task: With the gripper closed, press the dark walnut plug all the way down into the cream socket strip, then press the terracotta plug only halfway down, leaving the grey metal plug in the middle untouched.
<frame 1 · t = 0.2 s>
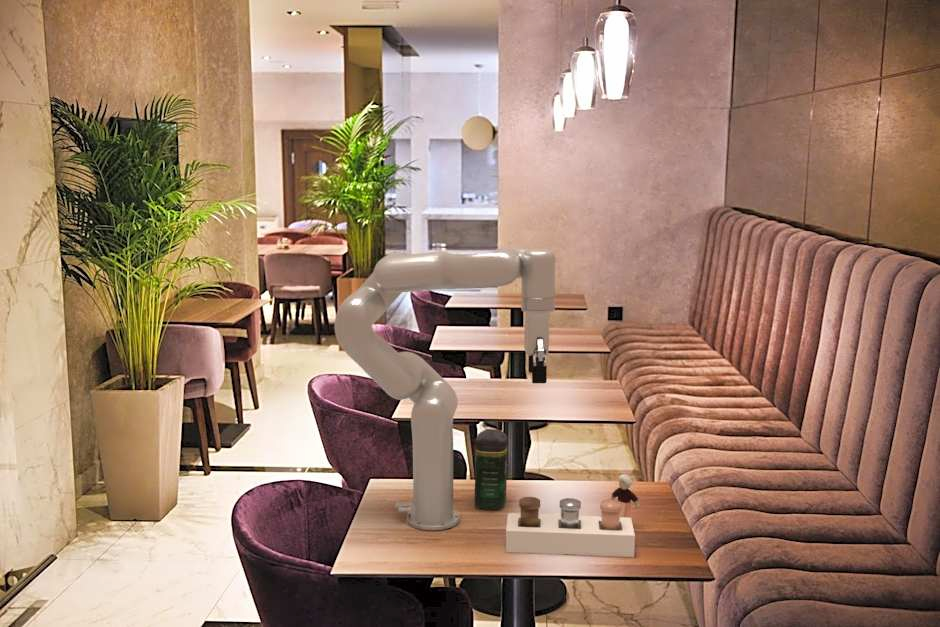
hand: (537, 377, 220), 36 cm above the table, tool pointing down, fingers open, 9 cm apart
walnut plug: (529, 513, 216), point 7 cm above the table, slide at 0.0 cm
grey plug: (569, 514, 215), point 7 cm above the table, slide at 0.0 cm
coffee jar: (490, 504, 240), on the table
grandmother figurine: (623, 526, 227), on the table
socket strip: (569, 545, 216), on the table
terracotta plug: (610, 516, 214), point 7 cm above the table, slide at 0.0 cm
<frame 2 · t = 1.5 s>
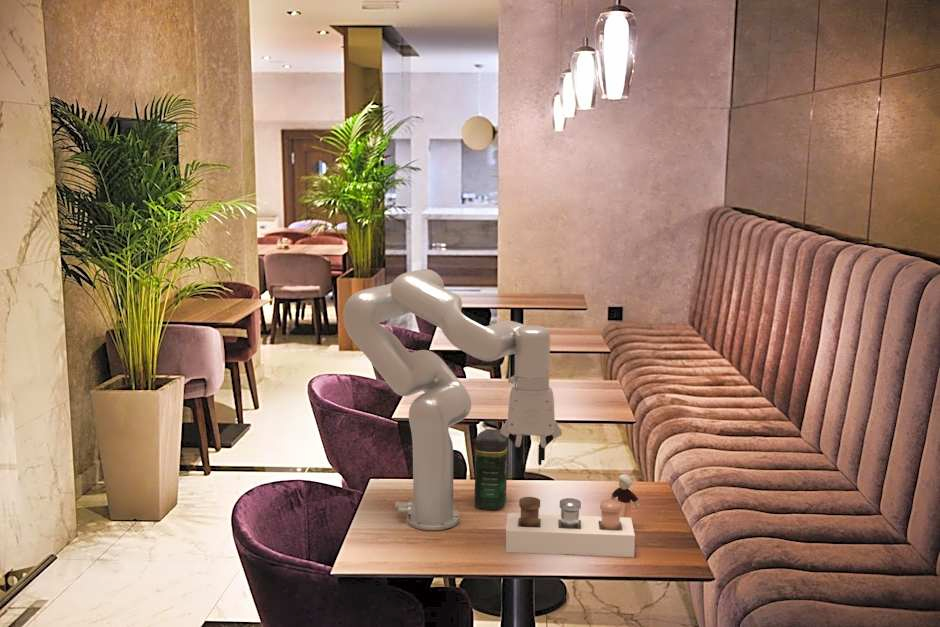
hand: (530, 462, 213), 19 cm above the table, tool pointing down, fingers open, 3 cm apart
nothing on the table moved.
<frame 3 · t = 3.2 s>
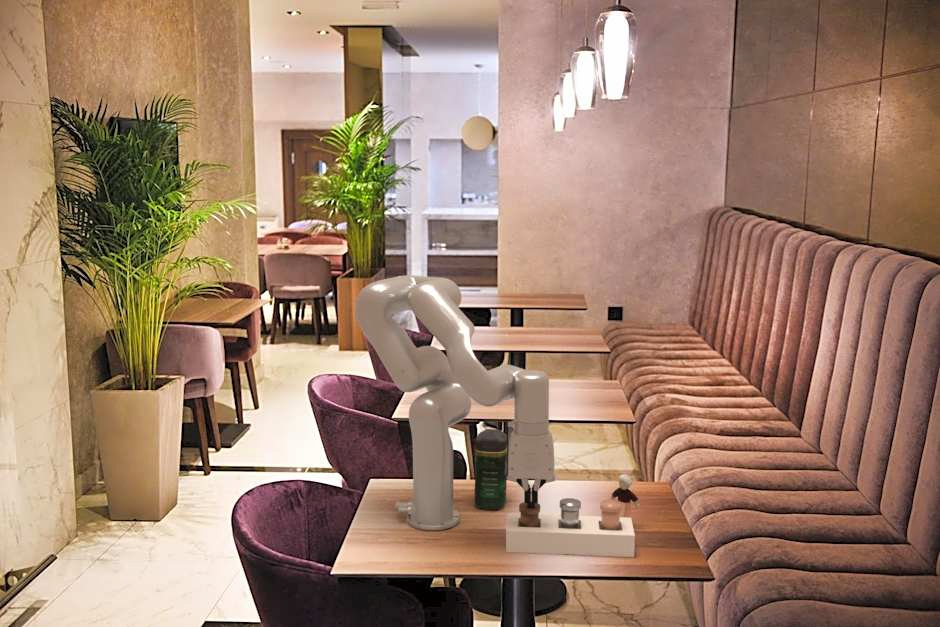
hand: (531, 505, 215), 9 cm above the table, tool pointing down, fingers closed
walnut plug: (529, 518, 216), point 6 cm above the table, slide at 1.2 cm, touching gripper
everything else where it was.
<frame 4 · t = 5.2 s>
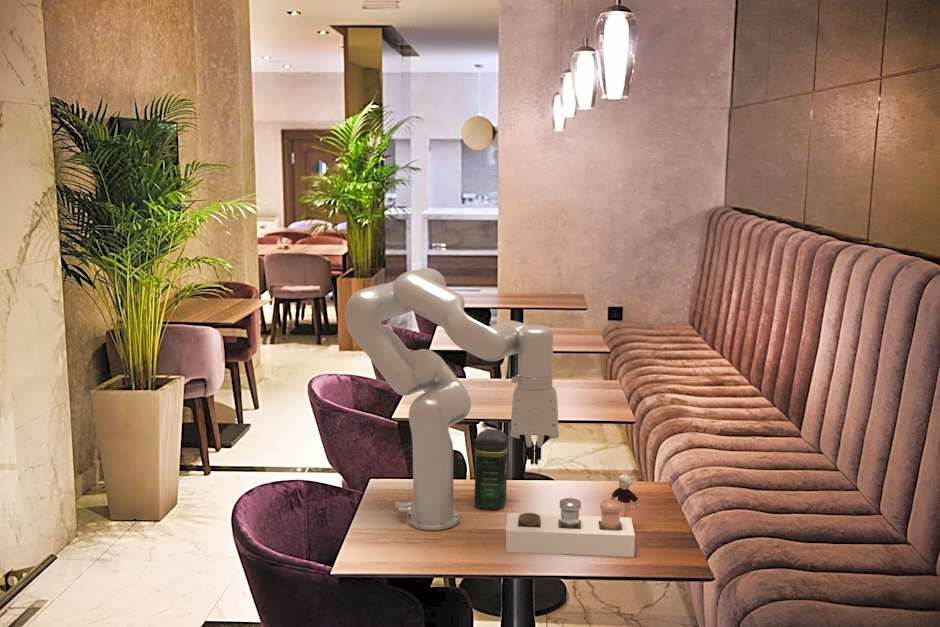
hand: (534, 462, 213), 19 cm above the table, tool pointing down, fingers closed
walnut plug: (529, 529, 216), point 3 cm above the table, slide at 3.8 cm
everything else where it was.
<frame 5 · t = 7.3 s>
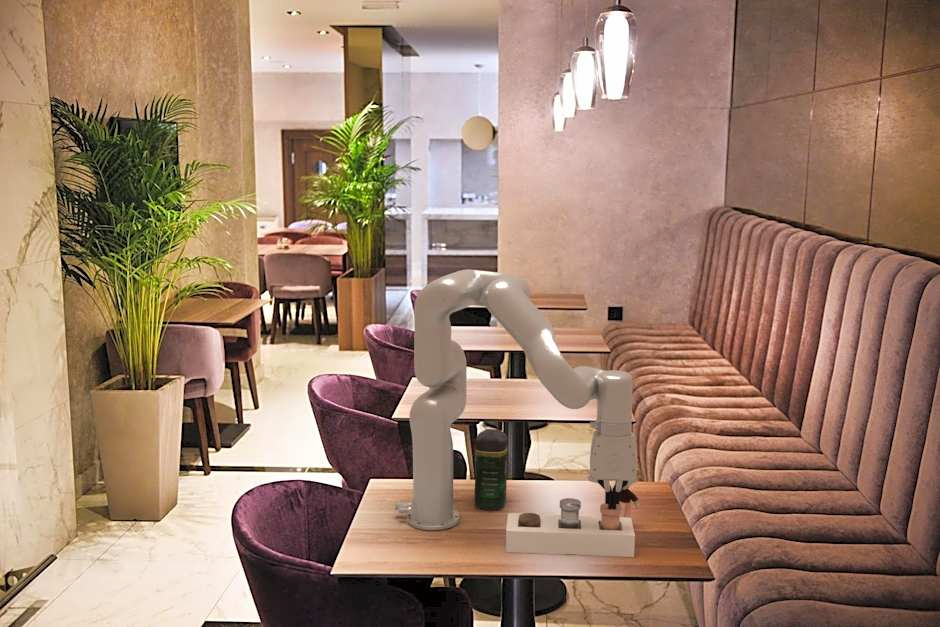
hand: (612, 506, 214), 9 cm above the table, tool pointing down, fingers closed
terracotta plug: (610, 519, 214), point 6 cm above the table, slide at 0.8 cm, touching gripper
everything else where it was.
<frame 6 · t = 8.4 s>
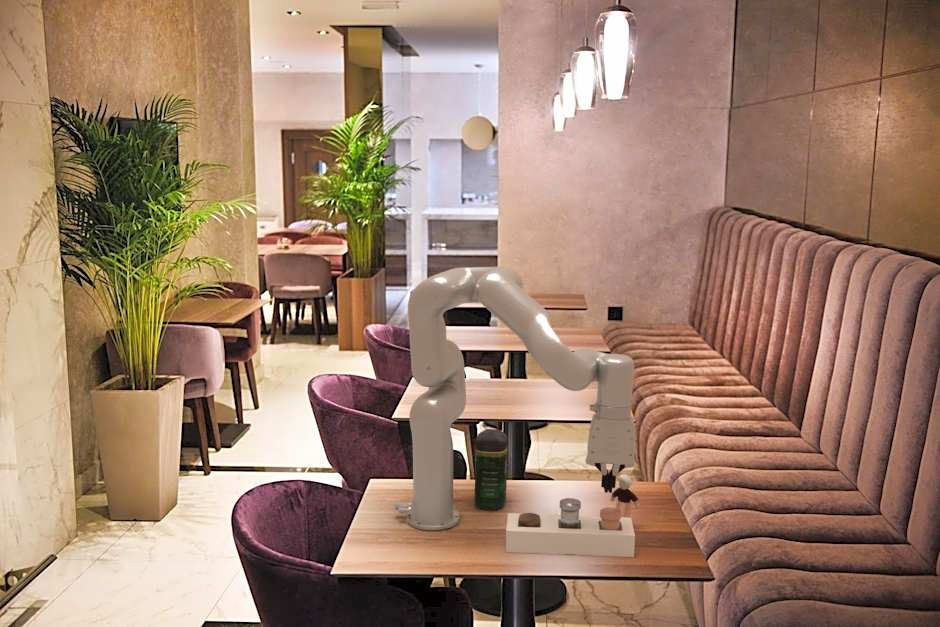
hand: (607, 490, 213), 13 cm above the table, tool pointing down, fingers closed
terracotta plug: (610, 524, 215), point 5 cm above the table, slide at 1.9 cm
everything else where it was.
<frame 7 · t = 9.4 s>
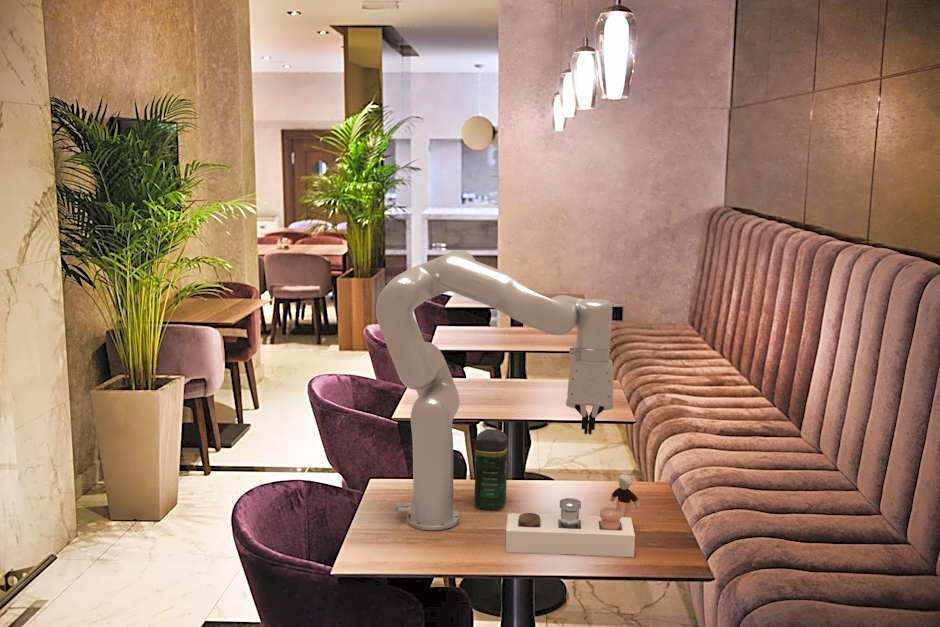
hand: (587, 432, 219), 24 cm above the table, tool pointing down, fingers closed
nothing on the table moved.
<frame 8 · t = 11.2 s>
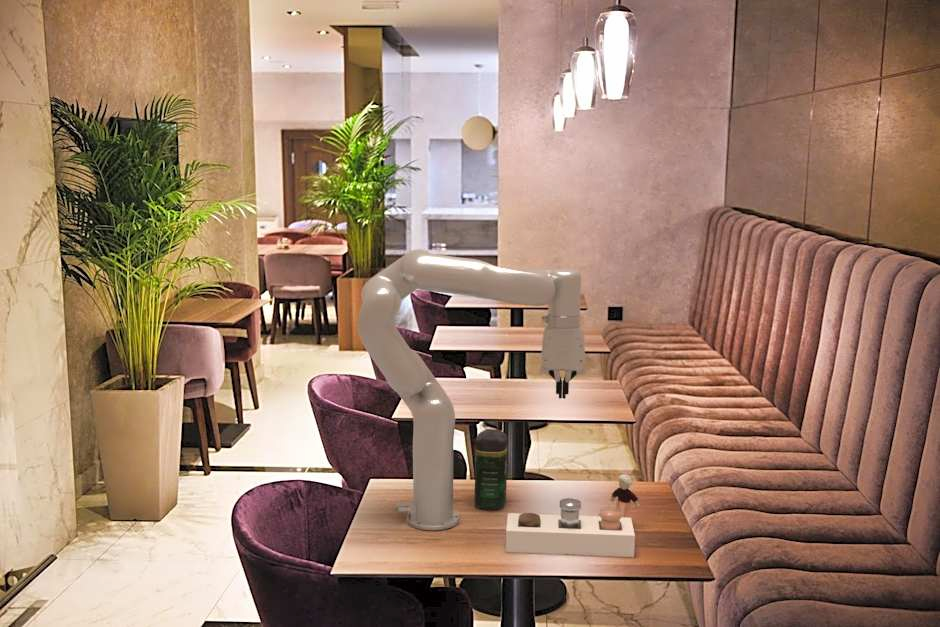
hand: (562, 396, 230), 29 cm above the table, tool pointing down, fingers closed
nothing on the table moved.
at the end: walnut plug slide at 3.8 cm; terracotta plug slide at 1.9 cm; grey plug slide at 0.0 cm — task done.
